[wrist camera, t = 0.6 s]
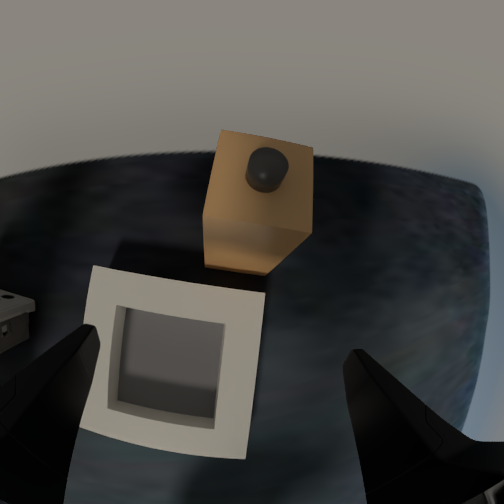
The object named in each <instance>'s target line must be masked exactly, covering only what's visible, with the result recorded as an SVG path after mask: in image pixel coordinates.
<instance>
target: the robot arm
mask: <svg viewBox="0 0 504 504" xmlns="http://www.w3.org/2000/svg"><path fill="white" fill-rule="evenodd" d="M99 351H100V339H99V336H98V332H97V328H96V327H95V326H94V325H91V324H83V325H82V326H80V327H79V328H77V329H76V330H75V331H73V332H72V333H70V334H69V335H68V336H66V337H65V338H63V339H62V340H61V341H59V342H58V343H57V344H55V345H54V346H53V347H51V348H50V349H48V350H47V351H46V352H44V353H43V354H42V355H40V356H39V357H38V358H36V359H35V360H34V361H32V362H31V363H30V364H28V365H27V366H26V367H24V368H23V369H22V370H21V371H19V372H18V373H17V374H16V375H14V376H13V377H11V378H10V379H9V380H8V381H6V382H5V383H3V384H2V385H1V386H0V504H63V503H64V496H65V489H66V484H67V477H68V472H69V467H70V462H71V458H72V453H73V449H74V445H75V441H76V437H77V433H78V429H79V426H80V422H81V418H82V415H83V411H84V408H85V405H86V401H87V398H88V395H89V392H90V389H91V385H92V381H93V377H94V372H95V368H96V363H97V359H98V355H99ZM343 375H344V383H345V391H346V399H347V405H348V410H349V414H350V418H351V423H352V427H353V432H354V436H355V441H356V446H357V450H358V455H359V460H360V465H361V471H362V476H363V482H364V487H365V493H366V500H367V504H504V442H482V441H475V440H473V439H470V438H469V437H467V436H466V435H464V434H463V433H461V432H460V431H459V430H457V429H456V428H454V427H453V426H452V425H450V424H449V423H447V422H446V421H445V420H443V419H442V418H441V417H440V416H438V415H437V414H436V413H435V412H434V411H432V410H431V409H430V408H429V407H428V406H427V405H425V404H424V403H423V402H422V401H421V400H420V399H419V398H417V397H416V396H415V395H414V394H413V393H412V392H411V391H410V390H408V389H407V388H406V387H405V386H404V385H403V384H402V383H400V382H399V381H398V380H397V379H396V378H395V377H394V376H392V375H391V374H390V373H389V372H388V371H387V370H386V369H384V368H383V367H382V366H381V365H380V364H379V363H378V362H376V361H375V360H374V359H373V358H372V357H371V356H370V355H368V354H367V353H366V352H365V351H364V350H362V349H353V350H351V351H350V353H349V355H348V357H347V358H346V360H345V362H344V364H343Z"/></svg>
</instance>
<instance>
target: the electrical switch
mask: <svg viewBox="0 0 504 504" xmlns="http://www.w3.org/2000/svg"><path fill="white" fill-rule="evenodd" d="M32 311H35V301H34V300H33V299H30V298H27V297H23V296H20V295H17V294H13V293H10V292H7V291H4V290H1V289H0V354H1V353H2V352H4V351H6V350H8V349H10V348H12V347H14V346H16V345H17V344H19V343H21V342H23V341H25V340H27V339H29V312H32ZM10 330H11V332H10ZM5 331H6V334H5V335H4V336H3V332H5Z"/></svg>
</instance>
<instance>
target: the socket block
mask: <svg viewBox="0 0 504 504" xmlns="http://www.w3.org/2000/svg"><path fill="white" fill-rule="evenodd" d="M264 301H265V293H261V292H253V291H246V290H238V289H231V288H224V287H217V286H210V285H203V284H197V283H190V282H184V281H178V280H171V279H165V278H159V277H154V276H148V275H142V274H136V273H131V272H125V271H120V270H115V269H109V268H104V267H99V266H94V265H93V270H92V275H91V280H90V285H89V291H88V296H87V303H86V309H85V316H84V324H91V325H94V326H95V327H96V328H97V332H98V336H99V339H100V351H99V355H98V359H97V363H96V368H95V372H94V377H93V381H92V385H91V389H90V392H89V395H88V398H87V401H86V405H85V408H84V411H83V415H82V418H81V422H80V426H79V427H81V428H84V429H87V430H90V431H93V432H96V433H99V434H102V435H105V436H108V437H112V438H115V439H118V440H122V441H126V442H129V443H133V444H137V445H142V446H146V447H151V448H155V449H160V450H166V451H171V452H177V453H184V454H190V455H198V456H207V457H218V458H231V459H245V458H246V451H247V444H248V436H249V428H250V421H251V413H252V405H253V397H254V389H255V380H256V372H257V364H258V355H259V346H260V337H261V328H262V319H263V310H264Z"/></svg>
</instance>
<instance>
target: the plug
mask: <svg viewBox="0 0 504 504" xmlns="http://www.w3.org/2000/svg"><path fill="white" fill-rule="evenodd" d="M312 215H313V148H312V147H308V146H304V145H300V144H295V143H291V142H286V141H281V140H276V139H272V138H267V137H262V136H256V135H251V134H245V133H239V132H233V131H226V130H221V133H220V137H219V141H218V145H217V150H216V154H215V158H214V163H213V167H212V172H211V177H210V181H209V186H208V191H207V196H206V201H205V206H204V211H203V237H204V258H205V268H212V269H219V270H226V271H232V272H239V273H246V274H254V275H261V276H265V275H267V274H268V273H269V272H270V271H271V270H272V269H273V268H274V267H275V266H277V265H278V264H279V263H280V262H281V261H282V260H283V259H284V258H285V257H286V256H288V255H289V254H290V253H291V252H292V251H293V250H294V249H295V248H296V247H297V246H299V245H300V244H301V243H302V242H303V241H304V240H305V239H306V238H307V237H308V236H309V235H310V234H312Z"/></svg>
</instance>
